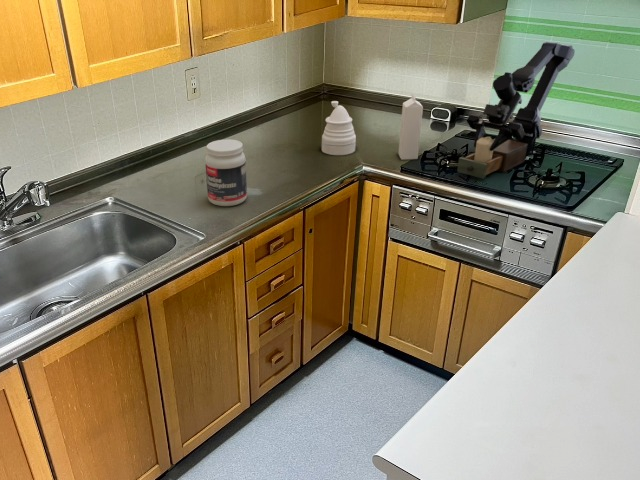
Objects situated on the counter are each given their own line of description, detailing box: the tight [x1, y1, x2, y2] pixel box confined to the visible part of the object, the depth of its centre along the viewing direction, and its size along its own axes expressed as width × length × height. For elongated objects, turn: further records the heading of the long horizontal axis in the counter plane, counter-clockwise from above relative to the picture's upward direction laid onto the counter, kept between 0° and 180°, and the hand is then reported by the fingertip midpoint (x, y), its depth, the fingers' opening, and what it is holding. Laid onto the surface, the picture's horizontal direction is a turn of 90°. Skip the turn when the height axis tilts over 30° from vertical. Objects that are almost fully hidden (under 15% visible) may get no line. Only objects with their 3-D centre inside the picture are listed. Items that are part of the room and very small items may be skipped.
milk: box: [398, 93, 424, 161], centre depth 224 cm, size 6×6×22 cm
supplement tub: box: [204, 138, 248, 207], centre depth 199 cm, size 13×13×18 cm
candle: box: [474, 136, 494, 163], centre depth 210 cm, size 6×6×10 cm
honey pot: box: [321, 100, 357, 156], centre depth 236 cm, size 13×13×18 cm
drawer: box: [456, 152, 504, 179], centre depth 211 cm, size 14×10×5 cm
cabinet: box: [492, 138, 528, 173], centre depth 218 cm, size 14×11×7 cm
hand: (482, 148), depth 208 cm, fingers closed on candle, 5 cm apart
